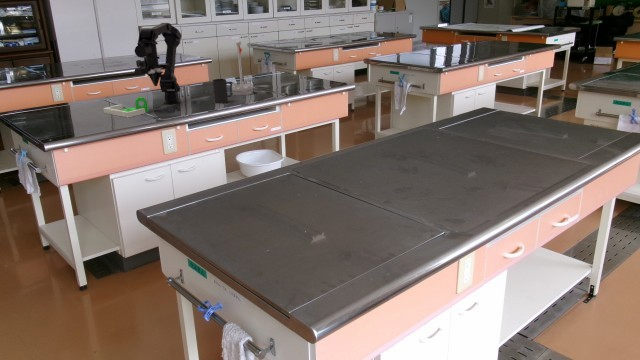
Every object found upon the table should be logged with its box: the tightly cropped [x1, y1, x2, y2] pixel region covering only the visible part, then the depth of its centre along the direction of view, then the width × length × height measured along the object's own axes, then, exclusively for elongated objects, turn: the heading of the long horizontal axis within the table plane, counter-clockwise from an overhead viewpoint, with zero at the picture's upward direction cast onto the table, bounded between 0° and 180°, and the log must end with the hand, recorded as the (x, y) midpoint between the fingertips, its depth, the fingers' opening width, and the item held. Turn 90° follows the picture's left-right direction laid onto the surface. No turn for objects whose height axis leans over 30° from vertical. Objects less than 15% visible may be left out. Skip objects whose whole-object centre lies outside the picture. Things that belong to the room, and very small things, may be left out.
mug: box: [212, 78, 233, 104], centre depth 280 cm, size 10×7×12 cm
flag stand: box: [232, 39, 254, 96], centre depth 297 cm, size 13×13×30 cm
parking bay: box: [103, 103, 146, 118], centre depth 263 cm, size 10×19×2 cm, turn 55°
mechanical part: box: [122, 96, 149, 114], centre depth 264 cm, size 12×6×8 cm, turn 105°
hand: (155, 86), depth 265 cm, fingers closed
